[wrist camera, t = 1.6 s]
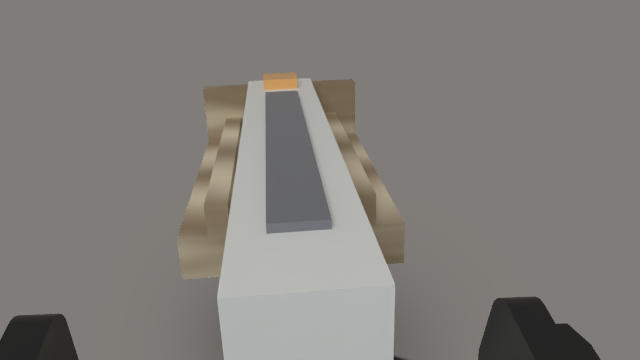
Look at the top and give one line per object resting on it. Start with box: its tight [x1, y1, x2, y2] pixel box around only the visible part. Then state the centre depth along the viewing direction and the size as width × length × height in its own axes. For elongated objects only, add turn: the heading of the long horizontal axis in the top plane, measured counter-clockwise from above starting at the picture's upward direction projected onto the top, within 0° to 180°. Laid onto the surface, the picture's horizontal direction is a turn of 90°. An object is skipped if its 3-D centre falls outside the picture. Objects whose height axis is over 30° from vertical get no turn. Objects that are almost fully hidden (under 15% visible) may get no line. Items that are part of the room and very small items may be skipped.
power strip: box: [217, 73, 395, 360], centre depth 24 cm, size 25×4×5 cm, turn 5°
